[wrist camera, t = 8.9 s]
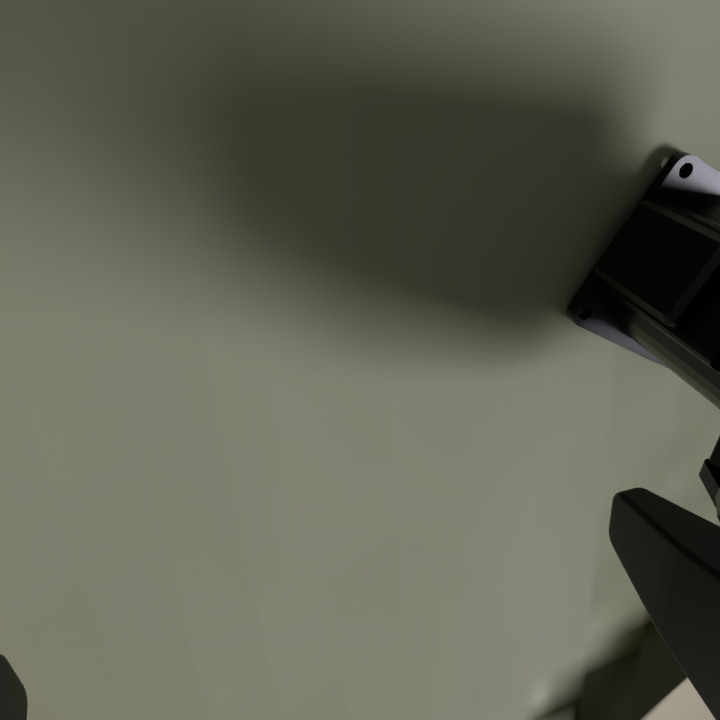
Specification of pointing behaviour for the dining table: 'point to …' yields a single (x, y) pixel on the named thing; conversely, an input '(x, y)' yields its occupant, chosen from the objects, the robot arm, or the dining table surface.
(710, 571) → the robot arm
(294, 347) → the dining table surface
